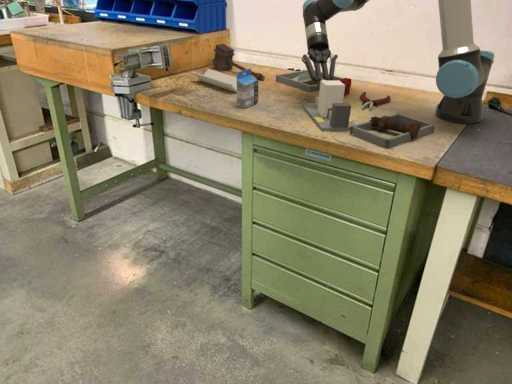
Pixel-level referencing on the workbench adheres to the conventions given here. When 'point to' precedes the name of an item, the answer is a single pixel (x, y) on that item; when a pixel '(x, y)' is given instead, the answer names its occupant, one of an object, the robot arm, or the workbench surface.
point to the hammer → (229, 60)
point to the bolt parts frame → (361, 132)
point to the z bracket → (218, 79)
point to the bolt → (396, 125)
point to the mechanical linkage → (346, 85)
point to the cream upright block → (329, 95)
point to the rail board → (327, 122)
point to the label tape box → (246, 89)
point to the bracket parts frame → (288, 80)
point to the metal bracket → (303, 77)
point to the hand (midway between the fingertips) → (325, 98)
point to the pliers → (373, 101)
